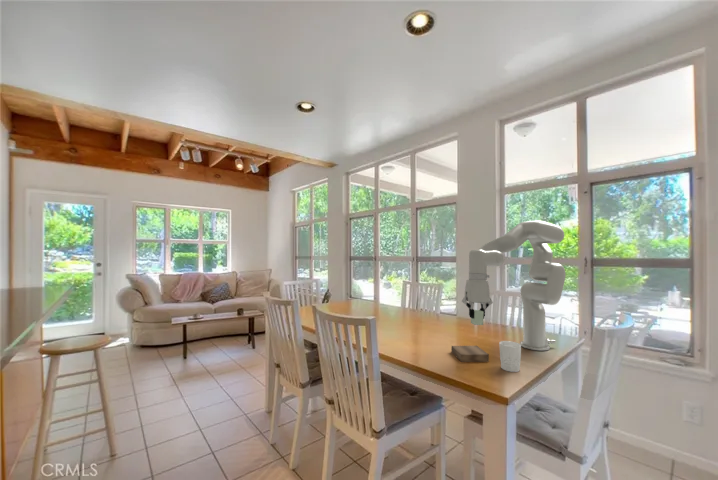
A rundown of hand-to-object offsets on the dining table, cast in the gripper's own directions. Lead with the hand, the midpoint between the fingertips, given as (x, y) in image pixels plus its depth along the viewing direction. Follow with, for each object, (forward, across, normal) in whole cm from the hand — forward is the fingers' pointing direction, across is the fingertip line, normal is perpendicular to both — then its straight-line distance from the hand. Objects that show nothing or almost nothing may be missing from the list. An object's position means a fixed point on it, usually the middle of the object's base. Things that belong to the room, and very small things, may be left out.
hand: (476, 317), depth 137 cm
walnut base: (+17, +3, 0) cm, 18 cm away
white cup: (+17, -8, +14) cm, 24 cm away
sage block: (+3, 0, 0) cm, 3 cm away
